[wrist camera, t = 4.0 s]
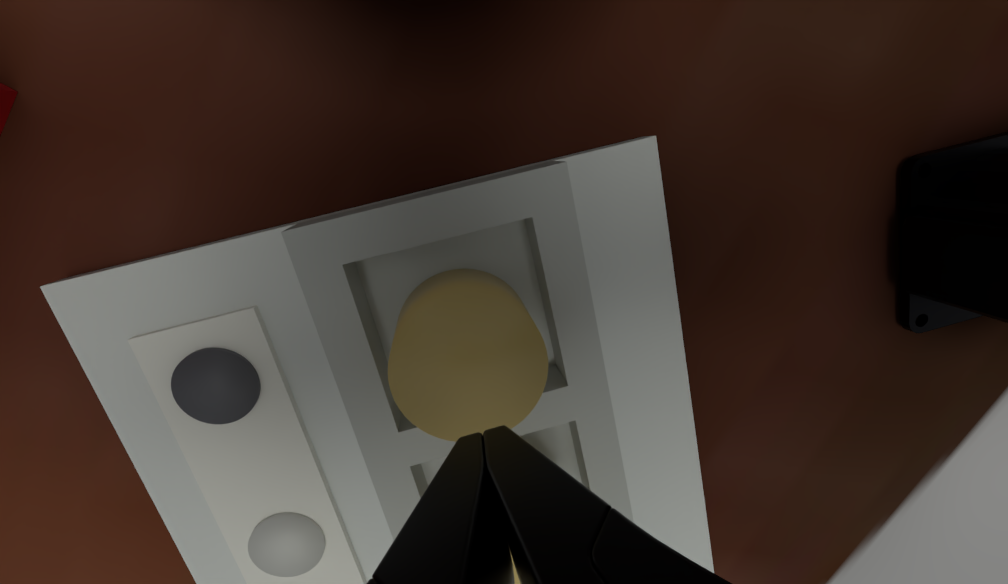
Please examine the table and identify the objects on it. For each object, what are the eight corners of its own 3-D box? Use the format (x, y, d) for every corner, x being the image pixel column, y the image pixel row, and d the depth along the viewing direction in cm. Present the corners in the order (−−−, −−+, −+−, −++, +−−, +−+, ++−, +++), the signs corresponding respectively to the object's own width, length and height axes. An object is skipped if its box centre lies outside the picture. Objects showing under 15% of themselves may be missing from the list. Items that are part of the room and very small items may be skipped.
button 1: (513, 253, 14) (530, 275, 11) (541, 374, 15) (561, 418, 12) (379, 288, 14) (366, 317, 11) (417, 408, 15) (413, 459, 12)
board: (642, 136, 16) (680, 133, 13) (708, 607, 22) (744, 666, 19) (65, 278, 15) (-10, 303, 12) (297, 733, 21) (278, 813, 18)
